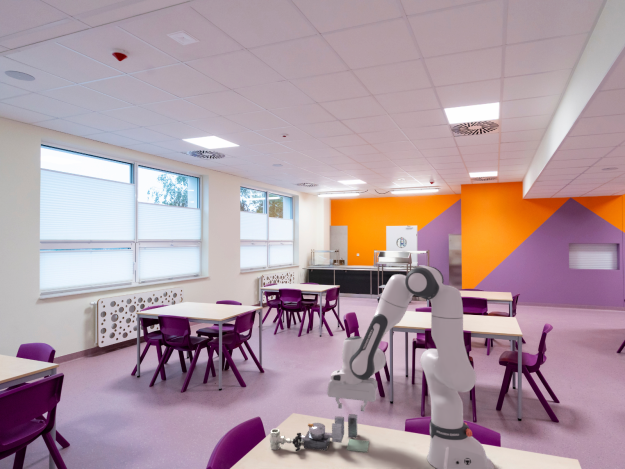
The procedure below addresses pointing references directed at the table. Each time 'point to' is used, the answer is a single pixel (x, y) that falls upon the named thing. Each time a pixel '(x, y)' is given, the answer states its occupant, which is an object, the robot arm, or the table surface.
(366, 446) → the felt pad
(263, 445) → the table surface
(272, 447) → the valve
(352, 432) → the grey tabbed block
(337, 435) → the silver rounded housing
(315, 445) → the block
